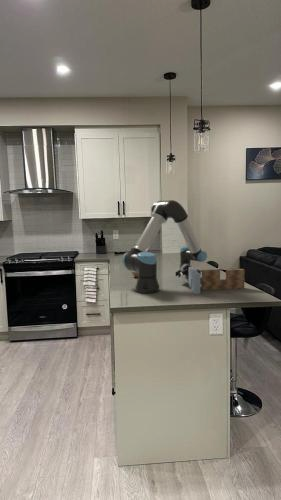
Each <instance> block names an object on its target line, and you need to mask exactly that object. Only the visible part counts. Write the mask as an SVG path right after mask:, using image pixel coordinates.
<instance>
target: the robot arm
mask: <svg viewBox="0 0 281 500" xmlns="http://www.w3.org/2000/svg"><path fill="white" fill-rule="evenodd" d="M150 208H151V209H150V217H151V218H150V219H149V221H148V223H147V225H146V227H145V229H144V230H143V232H142V233H141V235H140V237H139V239H138V241H137V242H136V244H135V246H133V247H131V249H130V250H129V251H127V252H125V253H123V256H122V261H121V263H122V266H123V267H124V268H125V269H126V270H128V271H131V272H132V271H136V272H138V277H137V281H136V284H135V286H134V288H135V290H134V292H137V293H139V294H155V293H159V292H160V289H161V288H160V285H159V281H158V276H157V271H158V270H157V264H158V263H157V262H158V261H157V255H156V254H155V253H153V252H150V251H149V249H150V247H151V245H152V243H153V241H154V240H155V238H156V236H157V234H158V233H159V231H160V229H161V228H162V225H163V224H166V223H167V221H168V219H172V220H173V222H174V223H176V224H177V226H178V229H179V231H180V232H181V235H182V237H183V239H184V241H185V243H186V246H184V245H183V246H180V248H179V249H180V251H179V252H180V253H179V256H180V257H179V260H180V261H179V270H177V271H175V277H178V278H180V279H183V278H184V276H187V277H189V267H192V265H191V261H193V262H198V263H203V262H206V260H207V258H208V253H207V252H206V251H204V250H202V248H201V246H200V243H199V242H198V239H197V238H196V237H197V236H196V235H195V233H194V230H193V228H192V226H191V223H190V221H189V219H188V217H189V216H188V213H187V211H186V210H185V208H184V207H183V205H182V204H181V203H180V202H178V201H177V200H174V199H173V200H172V199H171V200H170V199H169V200H158V201H155V202H154V203H153V204H152V205H151V207H150ZM148 251H149V252H148ZM196 270H197V271H198V272H199V273H200V278H202V269H201V270H200V269H196Z"/></svg>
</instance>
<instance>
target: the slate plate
mask: <svg viewBox="0 0 281 500" xmlns="http://www.w3.org/2000/svg"><path fill="white" fill-rule="evenodd" d="M188 286H189V288H190V289H191V290H192V292H193V293H194V295H201V275H200V273H199V272H198V271H197V269H196V268H195V267H194V266H191V267H189V276H188Z"/></svg>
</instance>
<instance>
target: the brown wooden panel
mask: <svg viewBox="0 0 281 500" xmlns="http://www.w3.org/2000/svg"><path fill="white" fill-rule="evenodd" d="M201 271H202V277H201V290H204V291H205V290H236V289H235V288H244V289H245V269H244V268H226V269H225V279H221V269H217V268H215V269H201Z"/></svg>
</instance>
